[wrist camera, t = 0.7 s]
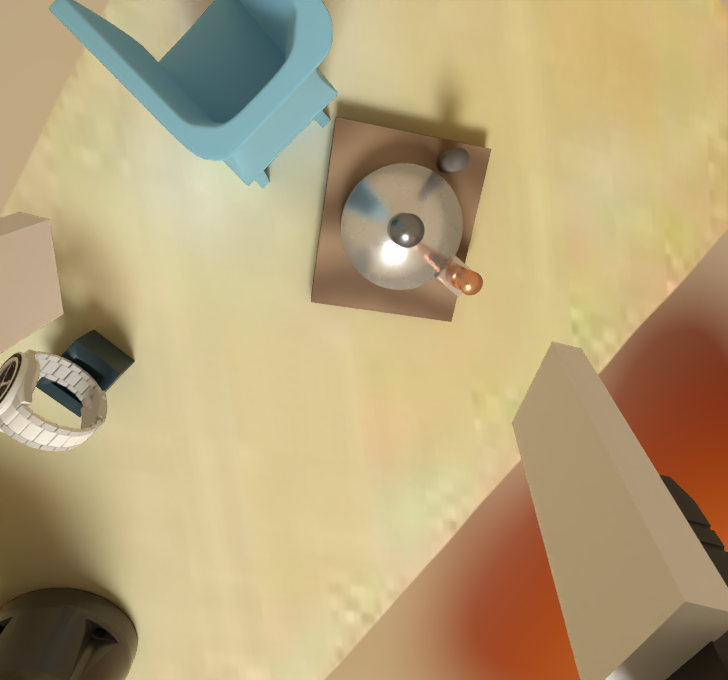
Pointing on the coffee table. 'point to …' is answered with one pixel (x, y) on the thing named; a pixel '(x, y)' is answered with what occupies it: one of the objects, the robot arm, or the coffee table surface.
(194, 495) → the coffee table surface
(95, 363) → the watch
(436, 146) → the base board
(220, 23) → the blue tall hollow container
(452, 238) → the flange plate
